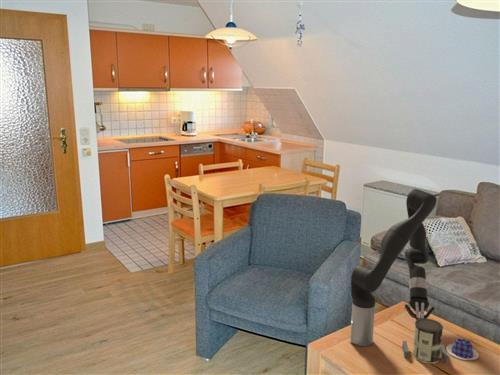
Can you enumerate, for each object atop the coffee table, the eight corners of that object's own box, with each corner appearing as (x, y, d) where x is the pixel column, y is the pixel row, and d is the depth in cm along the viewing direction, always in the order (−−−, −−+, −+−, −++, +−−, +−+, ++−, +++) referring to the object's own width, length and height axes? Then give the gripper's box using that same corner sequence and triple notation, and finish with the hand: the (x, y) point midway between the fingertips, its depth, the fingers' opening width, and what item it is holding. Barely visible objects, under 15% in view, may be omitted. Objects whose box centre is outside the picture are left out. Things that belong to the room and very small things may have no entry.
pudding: (479, 350, 183) (481, 339, 182) (477, 365, 173) (478, 353, 172) (448, 342, 189) (449, 330, 188) (443, 355, 179) (445, 344, 178)
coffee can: (435, 350, 182) (438, 318, 179) (443, 365, 172) (446, 332, 169) (409, 348, 184) (412, 317, 181) (415, 363, 174) (418, 330, 171)
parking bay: (404, 358, 177) (405, 351, 176) (402, 347, 184) (402, 340, 184) (447, 363, 173) (448, 356, 173) (443, 351, 181) (443, 345, 181)
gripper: (404, 285, 199) (405, 323, 190) (435, 287, 196) (438, 327, 187) (401, 290, 205) (402, 328, 196) (432, 293, 202) (434, 331, 193)
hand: (420, 327), depth 191 cm, fingers closed
